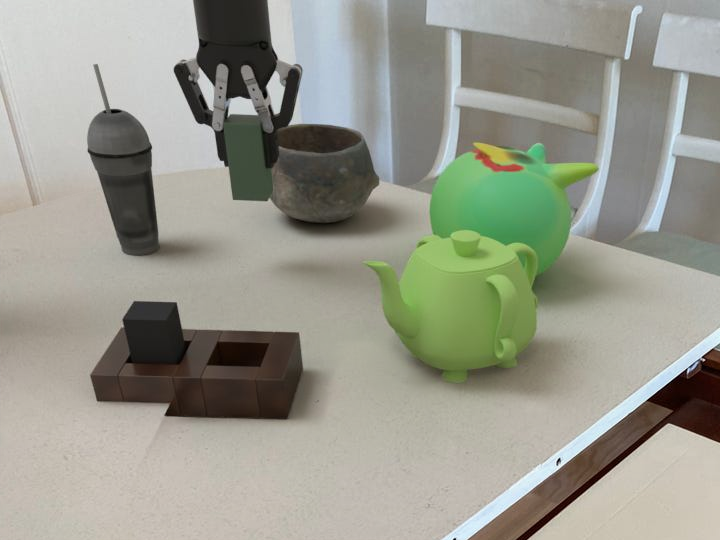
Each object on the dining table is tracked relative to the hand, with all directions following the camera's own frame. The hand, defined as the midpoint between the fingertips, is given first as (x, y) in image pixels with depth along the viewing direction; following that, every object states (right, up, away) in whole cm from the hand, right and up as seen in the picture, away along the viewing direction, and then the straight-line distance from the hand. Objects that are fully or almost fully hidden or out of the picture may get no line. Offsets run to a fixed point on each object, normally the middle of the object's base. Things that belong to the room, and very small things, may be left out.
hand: (249, 164), depth 110 cm
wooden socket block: (-1, -30, -16) cm, 34 cm away
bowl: (+5, +3, +20) cm, 21 cm away
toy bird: (+29, -10, +7) cm, 31 cm away
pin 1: (-4, -30, -16) cm, 34 cm away
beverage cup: (-16, -5, +11) cm, 20 cm away
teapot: (+24, -25, -10) cm, 36 cm away
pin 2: (0, -2, +2) cm, 3 cm away
